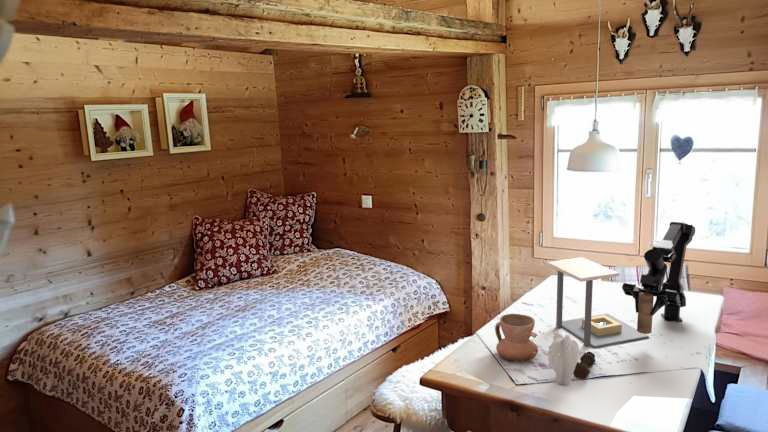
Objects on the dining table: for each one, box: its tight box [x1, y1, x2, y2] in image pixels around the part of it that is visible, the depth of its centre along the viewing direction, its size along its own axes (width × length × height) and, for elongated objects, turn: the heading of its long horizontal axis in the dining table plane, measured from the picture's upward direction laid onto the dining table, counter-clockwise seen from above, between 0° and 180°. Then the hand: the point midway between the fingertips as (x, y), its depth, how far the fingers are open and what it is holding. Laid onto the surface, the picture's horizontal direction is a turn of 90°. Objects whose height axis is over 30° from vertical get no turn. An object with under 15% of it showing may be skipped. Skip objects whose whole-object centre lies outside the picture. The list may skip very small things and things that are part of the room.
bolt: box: [573, 351, 596, 380], centre depth 196 cm, size 6×5×15 cm
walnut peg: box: [636, 292, 655, 335], centre depth 208 cm, size 5×5×14 cm
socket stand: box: [546, 256, 650, 349], centre depth 222 cm, size 30×24×27 cm
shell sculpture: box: [547, 330, 580, 386], centre depth 186 cm, size 8×8×18 cm
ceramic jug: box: [494, 313, 539, 363], centre depth 206 cm, size 18×14×14 cm
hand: (643, 313), depth 207 cm, fingers closed on walnut peg, 5 cm apart
